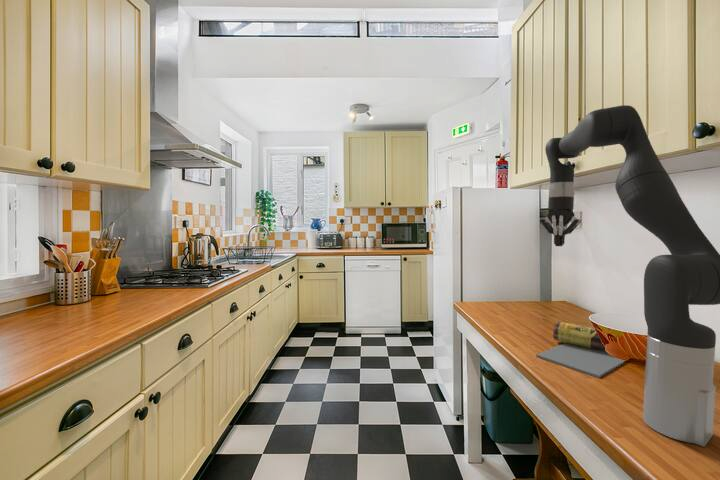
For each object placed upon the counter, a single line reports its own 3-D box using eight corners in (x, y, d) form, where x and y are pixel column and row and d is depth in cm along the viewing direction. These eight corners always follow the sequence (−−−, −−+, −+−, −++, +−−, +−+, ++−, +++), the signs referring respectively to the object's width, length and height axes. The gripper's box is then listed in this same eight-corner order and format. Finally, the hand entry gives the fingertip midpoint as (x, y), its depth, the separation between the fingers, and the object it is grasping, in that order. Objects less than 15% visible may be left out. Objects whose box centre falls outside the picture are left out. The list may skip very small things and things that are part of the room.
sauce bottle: (557, 320, 113) (632, 333, 100) (555, 338, 112) (631, 354, 99) (553, 321, 108) (632, 336, 95) (551, 341, 107) (630, 358, 95)
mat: (631, 358, 97) (631, 356, 97) (598, 377, 84) (599, 375, 84) (571, 342, 110) (571, 340, 110) (536, 356, 98) (536, 354, 98)
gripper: (536, 196, 119) (534, 245, 120) (576, 194, 108) (574, 247, 109) (547, 197, 123) (545, 244, 124) (587, 195, 112) (585, 247, 113)
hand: (559, 246), depth 116 cm, fingers closed
